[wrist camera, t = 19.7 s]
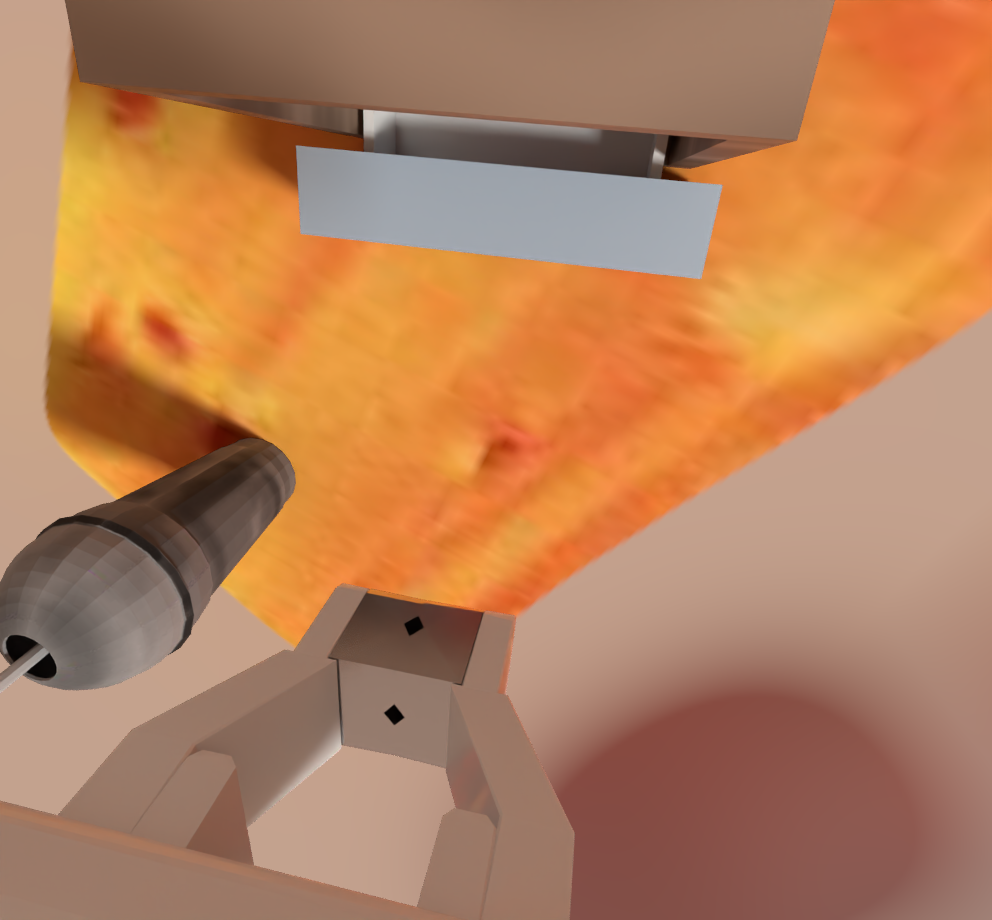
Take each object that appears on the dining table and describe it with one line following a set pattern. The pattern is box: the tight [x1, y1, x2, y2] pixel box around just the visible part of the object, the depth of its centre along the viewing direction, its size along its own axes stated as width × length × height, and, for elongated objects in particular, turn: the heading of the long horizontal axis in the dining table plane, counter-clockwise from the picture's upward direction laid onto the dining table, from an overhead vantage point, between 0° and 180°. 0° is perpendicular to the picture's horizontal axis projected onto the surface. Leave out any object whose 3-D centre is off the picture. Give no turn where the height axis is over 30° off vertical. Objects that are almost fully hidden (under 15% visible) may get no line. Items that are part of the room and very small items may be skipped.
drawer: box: [296, 110, 722, 279], centre depth 21 cm, size 14×15×6 cm
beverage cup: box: [0, 438, 296, 693], centre depth 26 cm, size 7×7×20 cm
